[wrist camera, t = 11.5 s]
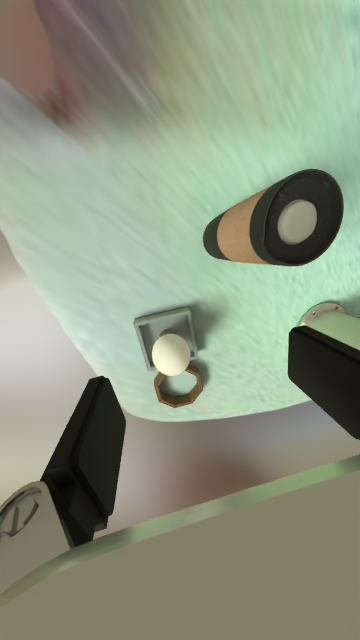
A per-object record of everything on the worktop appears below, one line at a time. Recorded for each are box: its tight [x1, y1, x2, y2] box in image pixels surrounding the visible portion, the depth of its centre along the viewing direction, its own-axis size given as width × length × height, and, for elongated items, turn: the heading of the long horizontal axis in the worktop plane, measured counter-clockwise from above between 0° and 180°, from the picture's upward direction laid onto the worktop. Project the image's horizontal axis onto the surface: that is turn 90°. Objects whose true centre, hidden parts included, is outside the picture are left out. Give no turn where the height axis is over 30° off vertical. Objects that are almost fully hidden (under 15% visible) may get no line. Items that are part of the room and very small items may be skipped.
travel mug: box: [203, 169, 344, 266], centre depth 25 cm, size 8×8×20 cm
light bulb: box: [152, 329, 190, 376], centre depth 34 cm, size 7×7×11 cm
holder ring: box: [154, 364, 203, 408], centre depth 43 cm, size 10×10×2 cm
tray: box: [134, 307, 199, 371], centre depth 38 cm, size 11×11×3 cm
